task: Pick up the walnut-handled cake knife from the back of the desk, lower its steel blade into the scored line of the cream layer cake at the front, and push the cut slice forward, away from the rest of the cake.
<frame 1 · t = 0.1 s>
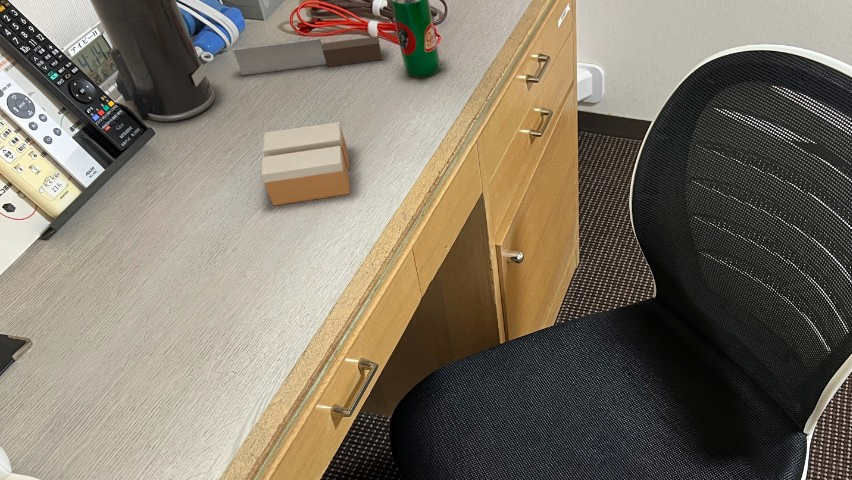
knife: (327, 63, 120), on the table
cake: (312, 166, 103), on the table
cake slice: (312, 190, 99), on the table
soda can: (423, 71, 118), on the table
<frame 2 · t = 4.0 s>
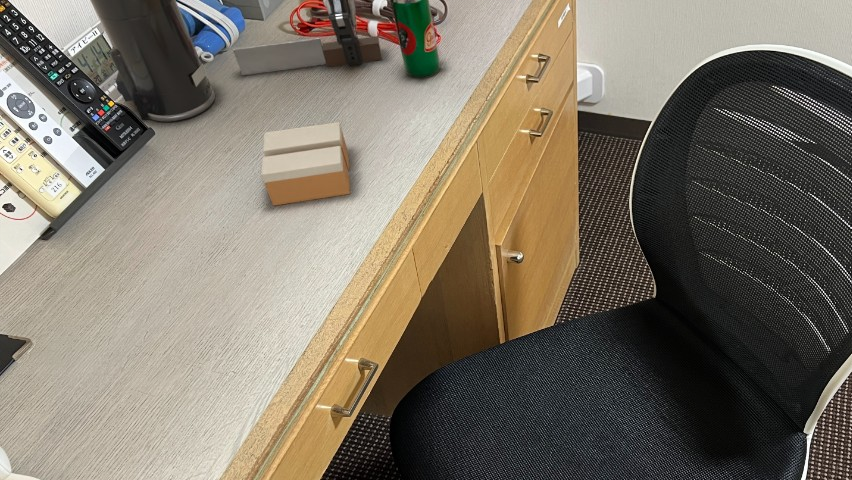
hand: (354, 59, 121), 0 cm above the table, tool pointing down, fingers closed on knife, 2 cm apart
knife: (327, 63, 120), on the table, touching gripper
everything else where it was.
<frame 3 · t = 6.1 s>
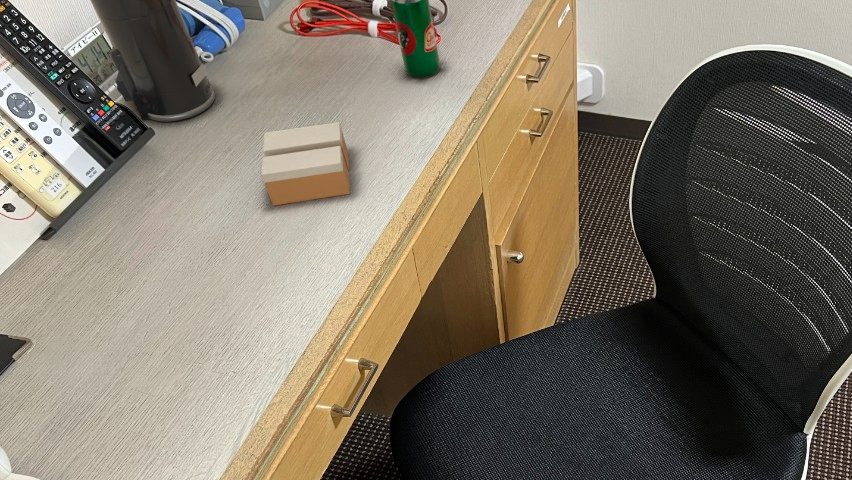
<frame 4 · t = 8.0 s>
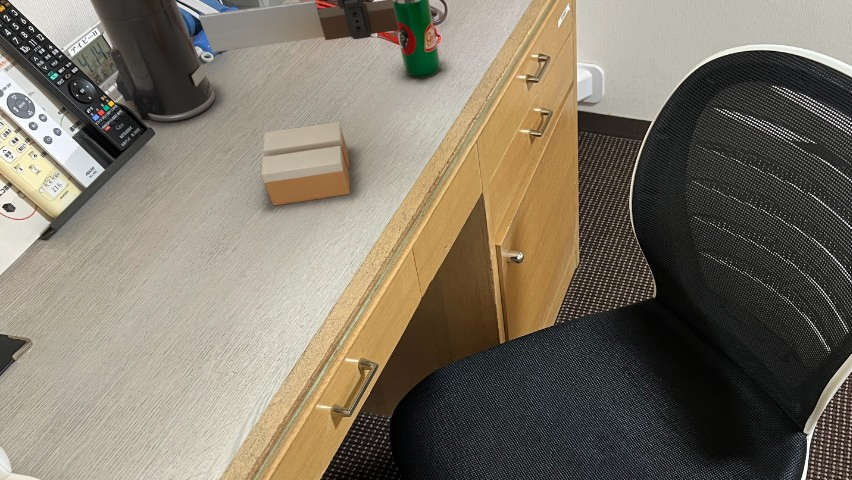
hand: (361, 30, 91), 17 cm above the table, tool pointing down, fingers closed on knife
knife: (325, 36, 91), point 17 cm above the table, touching gripper
everything else where it was.
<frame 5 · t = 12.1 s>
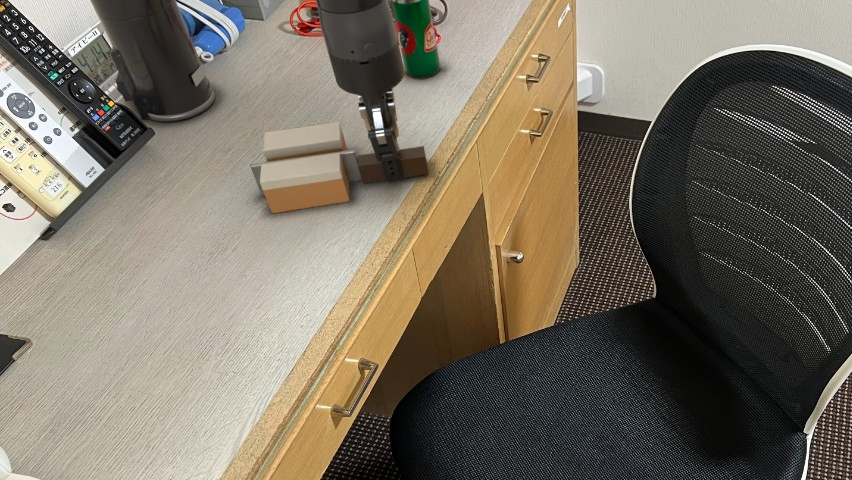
hand: (394, 171, 101), 1 cm above the table, tool pointing down, fingers closed on knife, 2 cm apart
knife: (362, 178, 100), on the table, touching cake slice, gripper
cake slice: (311, 198, 98), on the table, touching knife
everything else where it was.
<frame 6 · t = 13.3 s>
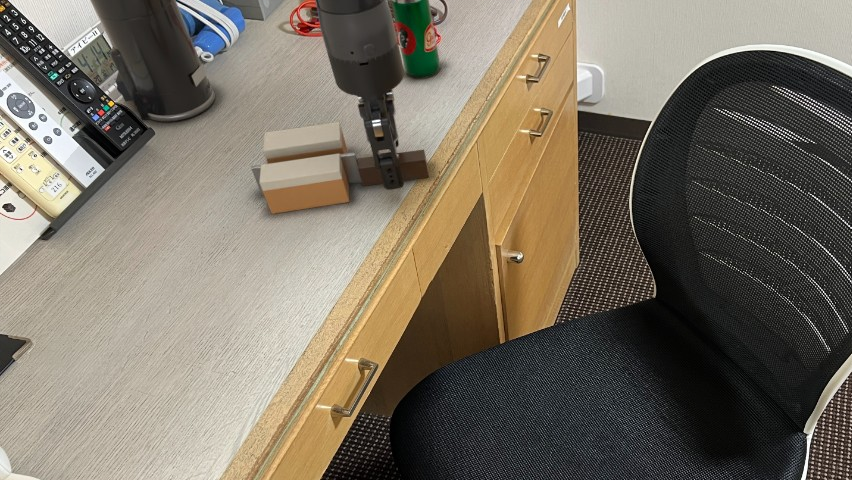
hand: (392, 166, 100), 2 cm above the table, tool pointing down, fingers open, 8 cm apart
knife: (362, 180, 101), on the table
cake slice: (311, 198, 98), on the table
everything else where it was.
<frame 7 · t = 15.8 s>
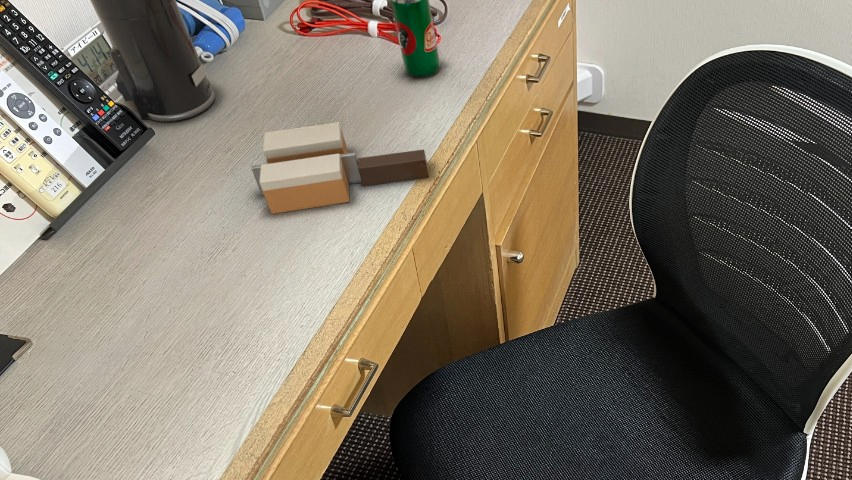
nothing on the table moved.
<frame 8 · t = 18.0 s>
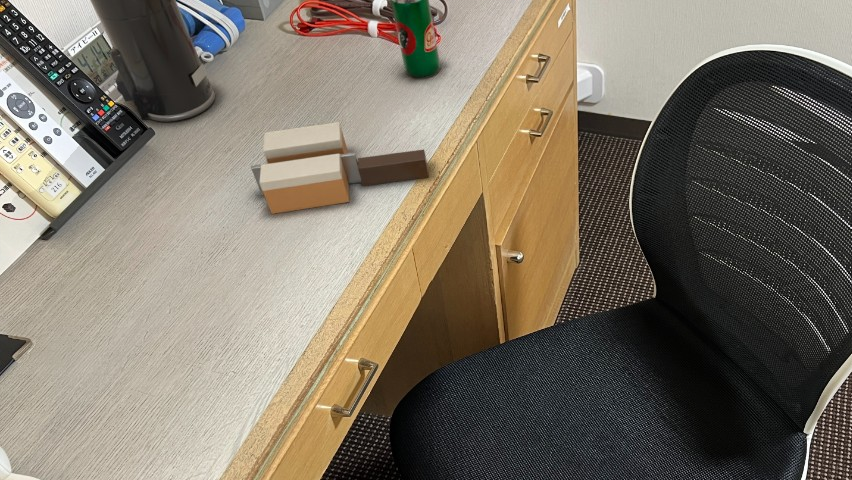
nothing on the table moved.
at the end: cake slice 0.7 cm from the target spot, on the table; cake moved 0.0 cm from its start; knife moved 30.9 cm from its start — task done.
